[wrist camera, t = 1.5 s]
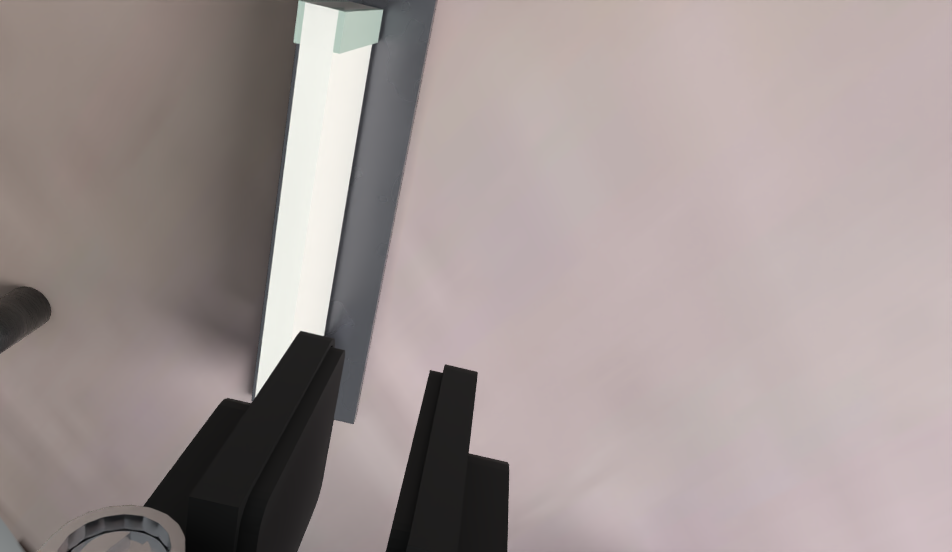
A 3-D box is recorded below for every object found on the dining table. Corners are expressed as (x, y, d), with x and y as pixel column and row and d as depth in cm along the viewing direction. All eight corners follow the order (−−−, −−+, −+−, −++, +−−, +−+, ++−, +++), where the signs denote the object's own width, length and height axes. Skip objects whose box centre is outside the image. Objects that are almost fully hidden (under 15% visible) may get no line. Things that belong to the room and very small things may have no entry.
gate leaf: (327, 343, 31) (285, 417, 26) (296, 336, 31) (247, 409, 26) (383, 9, 26) (345, 11, 20) (346, 0, 26) (298, 0, 20)
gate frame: (355, 418, 34) (305, 545, 26) (10, 338, 33) (-149, 443, 25) (451, -72, 26) (420, -105, 18) (-6, -188, 25) (-248, -275, 17)
